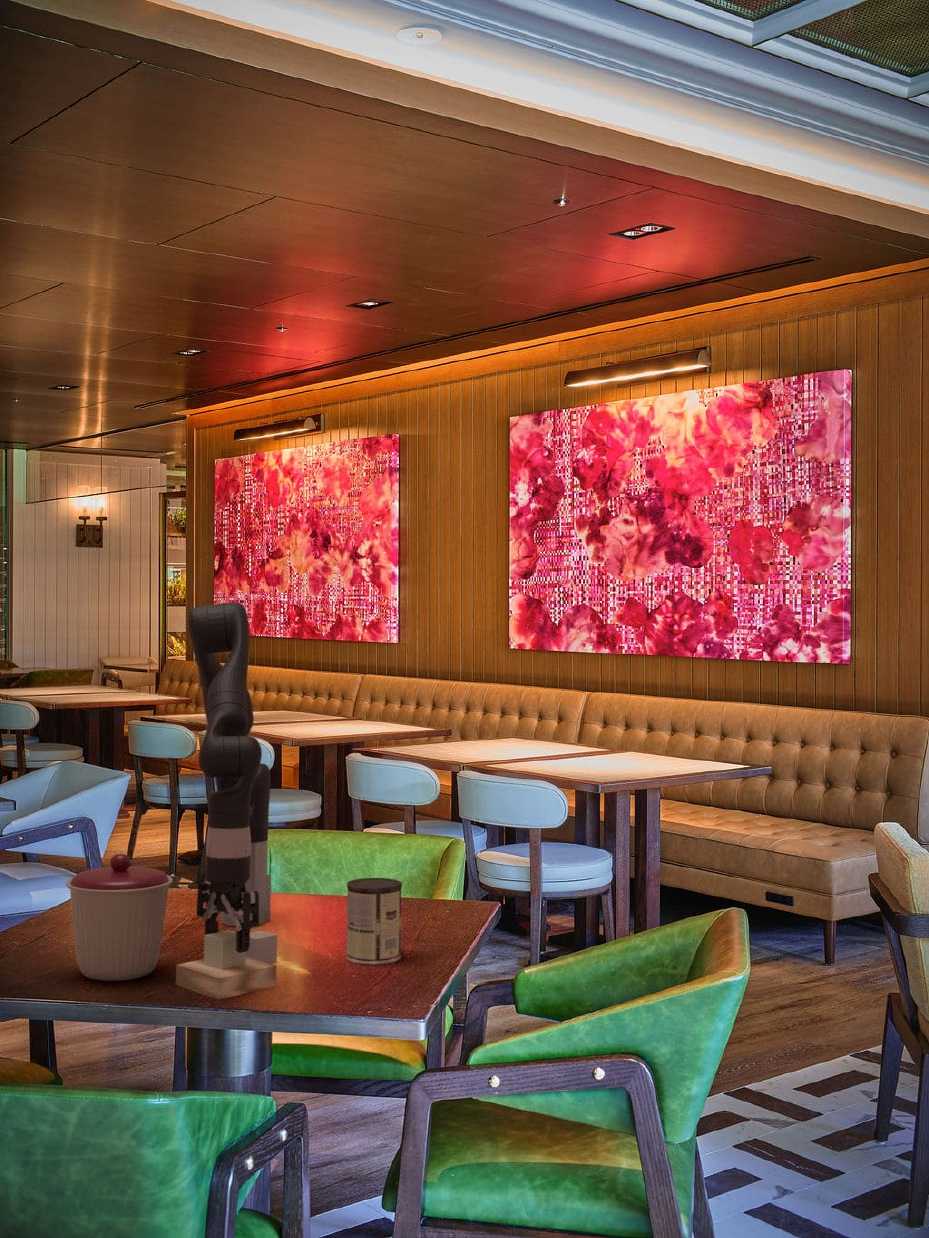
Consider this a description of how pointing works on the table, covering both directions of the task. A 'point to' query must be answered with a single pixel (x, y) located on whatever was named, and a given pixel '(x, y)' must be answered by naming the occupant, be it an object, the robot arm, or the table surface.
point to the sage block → (222, 950)
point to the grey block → (263, 946)
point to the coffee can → (373, 920)
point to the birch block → (226, 978)
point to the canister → (118, 919)
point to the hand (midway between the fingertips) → (226, 947)
